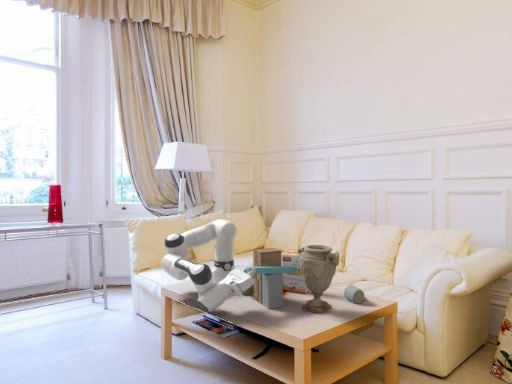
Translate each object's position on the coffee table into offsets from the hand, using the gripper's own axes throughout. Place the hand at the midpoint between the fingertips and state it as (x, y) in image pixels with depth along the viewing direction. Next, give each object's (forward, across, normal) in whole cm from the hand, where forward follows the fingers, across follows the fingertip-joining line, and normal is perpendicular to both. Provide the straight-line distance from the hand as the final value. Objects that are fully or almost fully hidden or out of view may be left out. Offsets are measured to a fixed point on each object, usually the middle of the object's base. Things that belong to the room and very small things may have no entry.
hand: (253, 268), depth 177 cm
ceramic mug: (+35, +13, -43) cm, 57 cm away
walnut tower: (+1, -10, -23) cm, 25 cm away
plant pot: (-4, -24, -21) cm, 32 cm away
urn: (+14, +14, -31) cm, 37 cm away
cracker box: (+19, -17, -34) cm, 42 cm away
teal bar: (+7, 0, -8) cm, 10 cm away
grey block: (-1, 0, -22) cm, 22 cm away
